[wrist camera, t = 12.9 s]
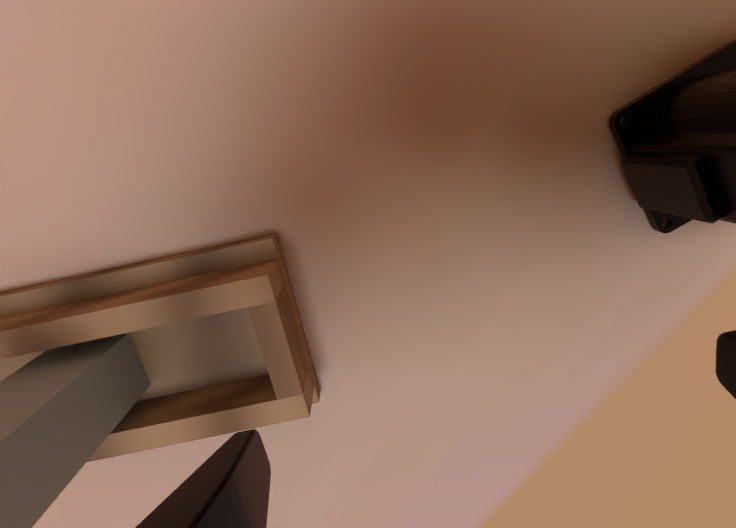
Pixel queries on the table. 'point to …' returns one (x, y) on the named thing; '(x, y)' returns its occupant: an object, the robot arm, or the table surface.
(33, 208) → the table surface
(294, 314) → the open rectangular wooden box
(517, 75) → the table surface
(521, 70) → the table surface
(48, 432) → the tall grey pillar block
